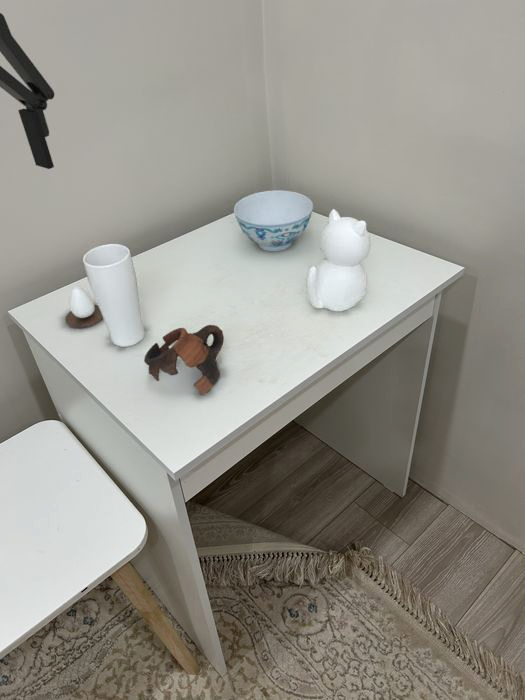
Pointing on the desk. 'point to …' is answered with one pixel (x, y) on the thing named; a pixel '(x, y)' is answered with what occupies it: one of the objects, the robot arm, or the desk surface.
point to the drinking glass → (116, 292)
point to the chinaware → (273, 217)
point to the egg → (81, 303)
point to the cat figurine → (340, 265)
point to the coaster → (84, 319)
